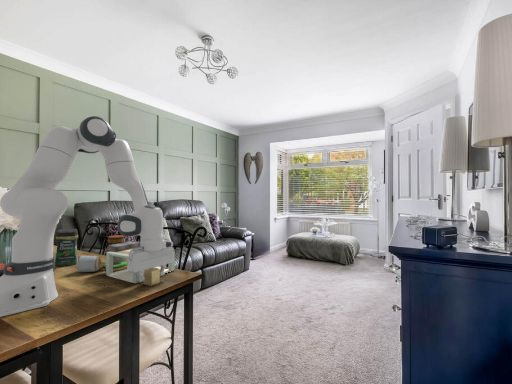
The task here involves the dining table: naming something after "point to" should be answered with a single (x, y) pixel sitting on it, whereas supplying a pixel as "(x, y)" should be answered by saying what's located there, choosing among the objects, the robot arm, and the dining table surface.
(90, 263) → the ceramic mug
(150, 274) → the block
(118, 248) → the trapdoor plate
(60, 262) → the coffee jar
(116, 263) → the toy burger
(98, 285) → the dining table surface
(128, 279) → the frame
